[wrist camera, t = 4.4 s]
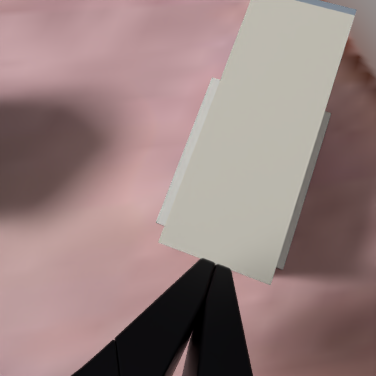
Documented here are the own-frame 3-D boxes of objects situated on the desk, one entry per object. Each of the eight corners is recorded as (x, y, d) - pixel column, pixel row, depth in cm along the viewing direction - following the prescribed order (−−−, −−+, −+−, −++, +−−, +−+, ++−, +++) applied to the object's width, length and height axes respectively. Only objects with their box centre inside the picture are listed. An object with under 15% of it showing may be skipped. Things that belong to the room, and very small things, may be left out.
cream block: (270, 285, 12) (356, 9, 14) (158, 242, 12) (256, -16, 14) (254, 276, 16) (321, 68, 18) (171, 245, 17) (245, 47, 19)
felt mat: (281, 269, 17) (282, 269, 16) (157, 223, 17) (155, 222, 17) (328, 116, 18) (331, 113, 18) (212, 81, 19) (211, 77, 19)
